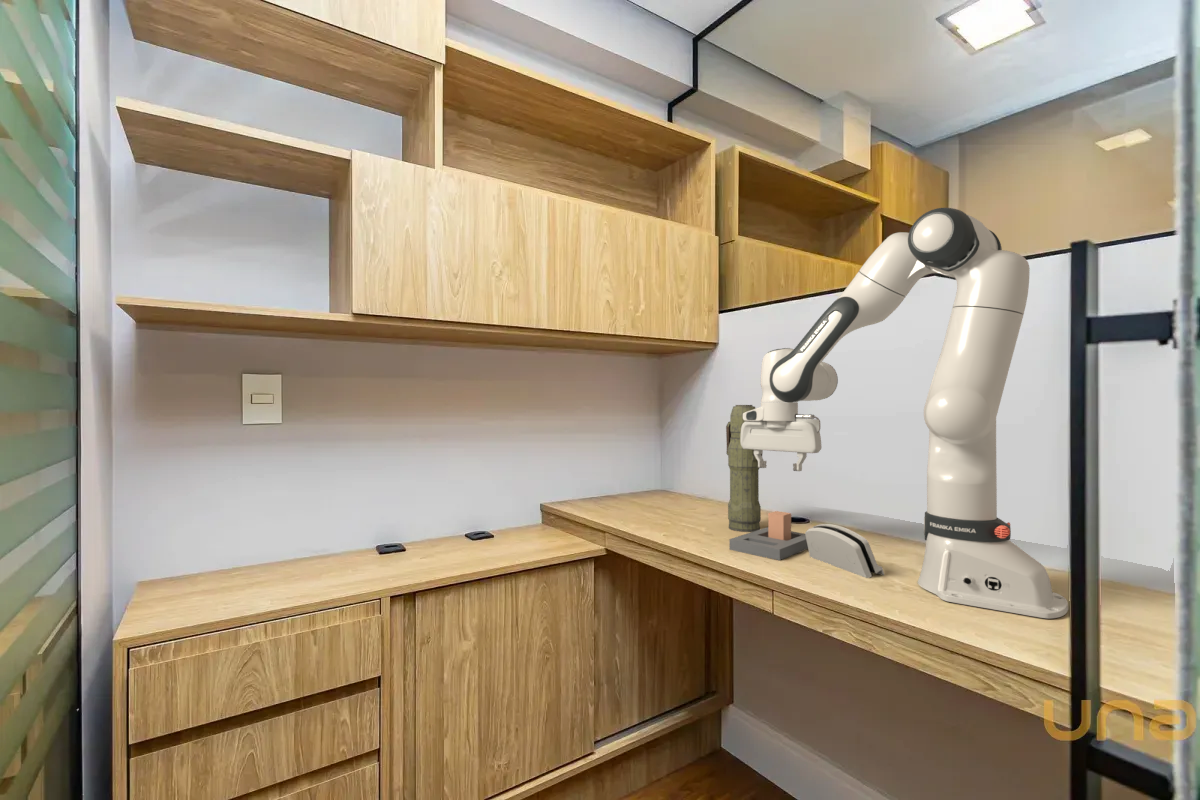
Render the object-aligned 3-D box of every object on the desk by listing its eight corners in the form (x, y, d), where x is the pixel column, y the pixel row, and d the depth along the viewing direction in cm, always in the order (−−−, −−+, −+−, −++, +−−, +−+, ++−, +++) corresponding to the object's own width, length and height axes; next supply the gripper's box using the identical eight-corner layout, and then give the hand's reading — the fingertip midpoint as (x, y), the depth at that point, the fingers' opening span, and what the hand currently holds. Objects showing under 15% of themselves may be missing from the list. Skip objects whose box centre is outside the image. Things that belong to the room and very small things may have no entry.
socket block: (815, 545, 136) (815, 535, 136) (779, 560, 123) (779, 549, 123) (767, 536, 145) (767, 527, 145) (729, 549, 132) (729, 539, 132)
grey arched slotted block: (886, 575, 112) (873, 530, 111) (869, 585, 111) (856, 540, 109) (826, 554, 128) (814, 515, 127) (811, 563, 126) (799, 523, 125)
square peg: (791, 545, 136) (791, 513, 136) (783, 548, 133) (783, 515, 133) (776, 542, 139) (776, 511, 139) (768, 545, 136) (768, 513, 136)
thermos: (735, 522, 162) (735, 404, 162) (771, 529, 153) (770, 404, 153) (717, 527, 156) (717, 404, 156) (753, 534, 147) (753, 405, 148)
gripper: (825, 414, 131) (826, 471, 131) (749, 413, 146) (750, 465, 146) (814, 414, 127) (814, 474, 127) (737, 413, 141) (737, 467, 141)
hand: (779, 469), depth 136 cm, fingers open, 8 cm apart
